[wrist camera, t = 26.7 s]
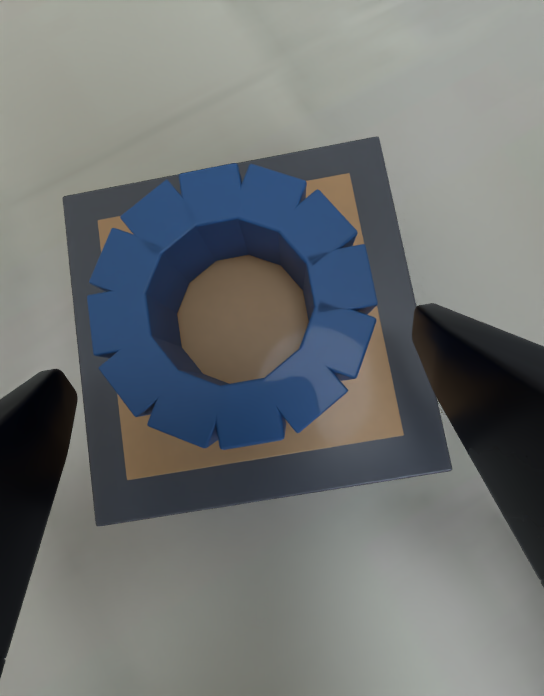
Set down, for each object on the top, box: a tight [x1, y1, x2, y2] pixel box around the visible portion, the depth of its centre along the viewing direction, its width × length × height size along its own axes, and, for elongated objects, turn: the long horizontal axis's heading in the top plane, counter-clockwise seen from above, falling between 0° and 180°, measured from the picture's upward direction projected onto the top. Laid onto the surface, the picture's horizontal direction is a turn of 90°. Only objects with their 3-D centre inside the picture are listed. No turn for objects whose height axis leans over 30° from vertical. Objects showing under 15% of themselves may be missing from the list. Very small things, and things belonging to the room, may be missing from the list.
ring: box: [87, 163, 378, 450], centre depth 10 cm, size 7×7×2 cm
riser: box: [63, 137, 452, 526], centre depth 14 cm, size 11×11×5 cm
